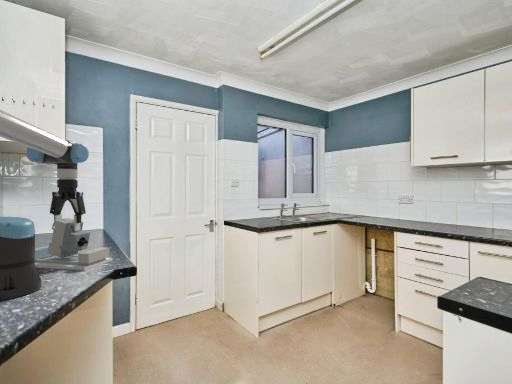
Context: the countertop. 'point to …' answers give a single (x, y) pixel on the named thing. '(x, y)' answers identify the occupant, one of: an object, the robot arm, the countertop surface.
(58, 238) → the circuit breaker
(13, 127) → the robot arm
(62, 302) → the countertop surface
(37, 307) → the countertop surface
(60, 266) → the rail board
